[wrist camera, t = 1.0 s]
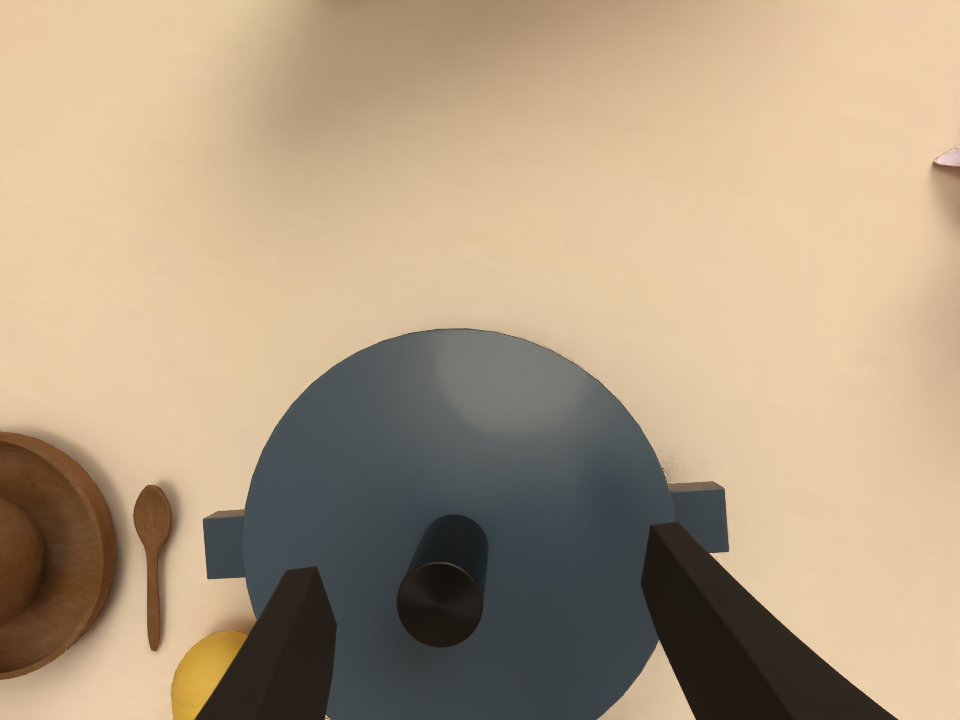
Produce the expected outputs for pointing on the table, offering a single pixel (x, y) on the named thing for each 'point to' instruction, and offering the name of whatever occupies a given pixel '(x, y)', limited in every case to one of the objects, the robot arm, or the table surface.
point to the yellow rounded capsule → (203, 672)
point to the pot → (692, 502)
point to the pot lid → (464, 529)
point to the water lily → (950, 158)
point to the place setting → (61, 553)
